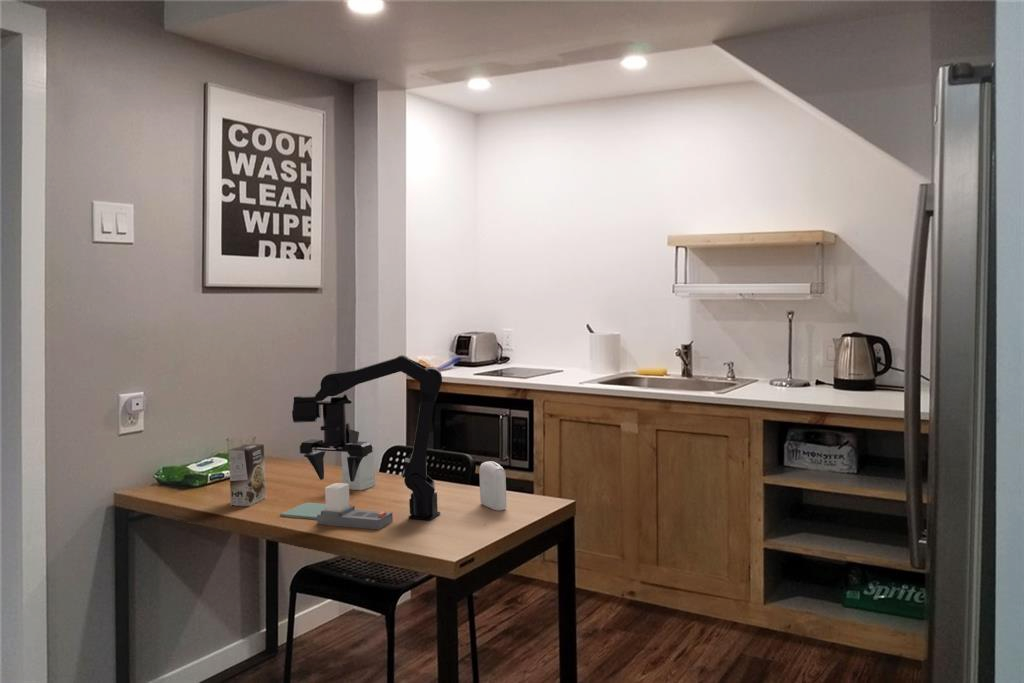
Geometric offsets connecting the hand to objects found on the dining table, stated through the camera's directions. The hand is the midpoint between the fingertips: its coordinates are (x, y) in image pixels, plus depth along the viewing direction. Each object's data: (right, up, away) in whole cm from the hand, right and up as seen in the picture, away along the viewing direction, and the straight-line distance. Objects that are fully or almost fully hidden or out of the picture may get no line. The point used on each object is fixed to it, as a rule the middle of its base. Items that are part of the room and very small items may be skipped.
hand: (337, 480), depth 209 cm
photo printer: (+40, -9, +11) cm, 43 cm away
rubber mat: (-9, -10, +10) cm, 17 cm away
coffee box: (-30, -10, +22) cm, 39 cm away
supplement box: (-1, -9, +37) cm, 38 cm away
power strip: (+5, -11, -1) cm, 12 cm away
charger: (0, -8, 0) cm, 8 cm away
